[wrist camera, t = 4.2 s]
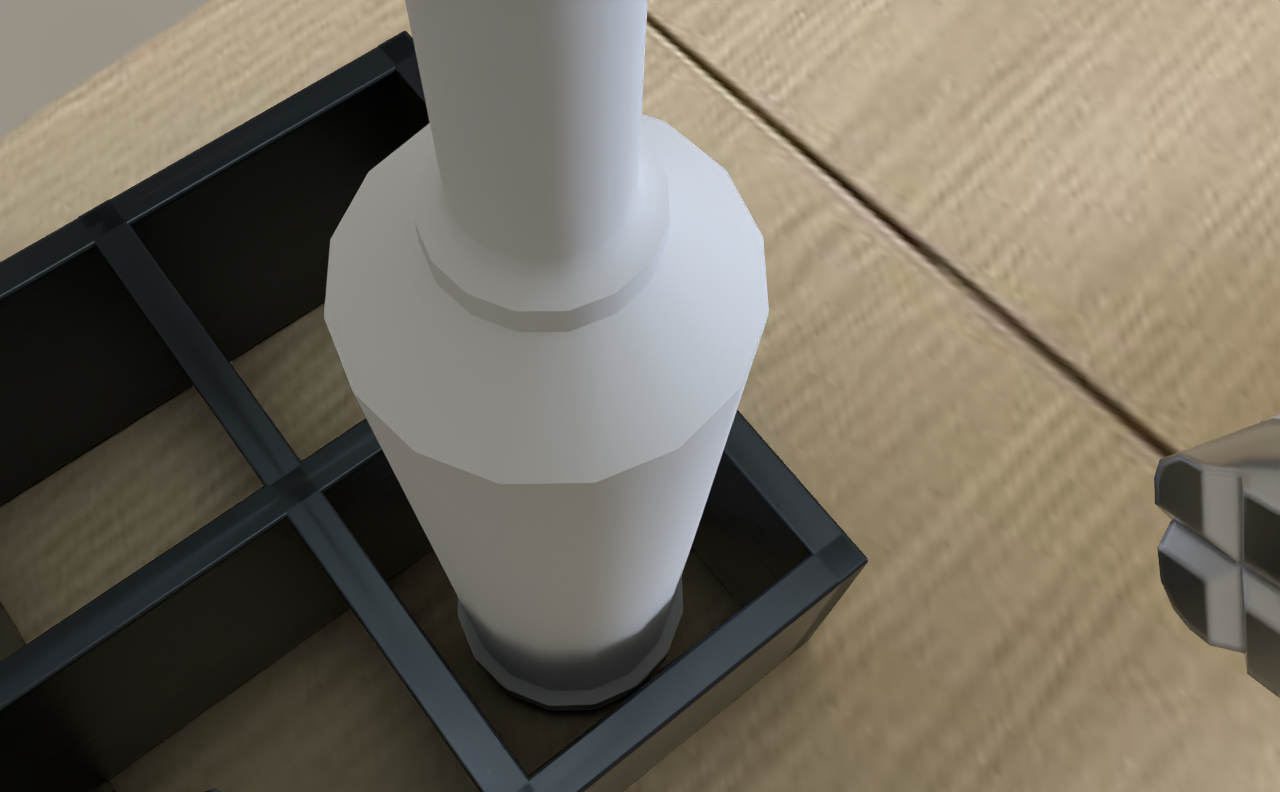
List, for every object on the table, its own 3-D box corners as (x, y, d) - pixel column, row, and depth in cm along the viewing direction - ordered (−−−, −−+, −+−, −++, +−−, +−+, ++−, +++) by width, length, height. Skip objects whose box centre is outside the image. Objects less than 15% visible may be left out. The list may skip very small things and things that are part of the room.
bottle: (652, 487, 31) (828, -811, 8) (702, 692, 29) (1136, -227, 6) (446, 529, 30) (-31, -745, 7) (483, 742, 28) (-14, -64, 5)
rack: (248, 1098, 25) (130, 1158, 19) (-87, 526, 30) (-276, 417, 23) (809, 639, 29) (870, 560, 23) (441, 198, 34) (405, 28, 27)
